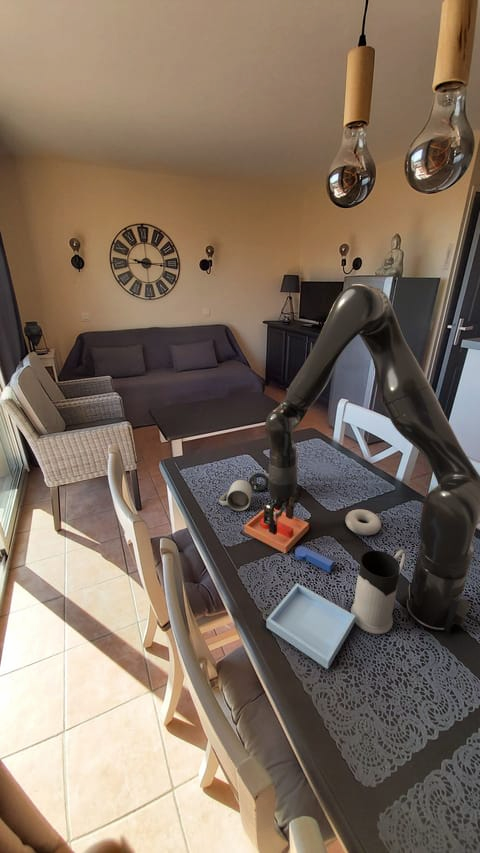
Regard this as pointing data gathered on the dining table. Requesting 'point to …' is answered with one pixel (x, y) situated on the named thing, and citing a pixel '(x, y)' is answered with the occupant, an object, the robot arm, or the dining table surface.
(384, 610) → the grey pitcher
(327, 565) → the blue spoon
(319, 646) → the blue tray
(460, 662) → the dining table surface
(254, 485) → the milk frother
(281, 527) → the red spoon
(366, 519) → the donut
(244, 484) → the ceramic mug
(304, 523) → the terracotta tray
